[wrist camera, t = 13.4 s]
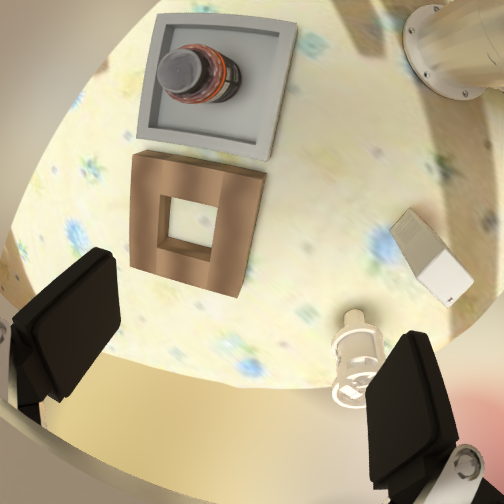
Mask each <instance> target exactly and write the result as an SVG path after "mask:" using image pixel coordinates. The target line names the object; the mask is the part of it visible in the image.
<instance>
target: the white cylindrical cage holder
mask: <svg viewBox="0 0 504 504" xmlns="http://www.w3.org/2000/svg"><path fill="white" fill-rule="evenodd" d="M344 324H345V327H344V328H342V329H341V330H339V331H338V332H337V333H336V334H335V336H334V337H333V340H332V344H331V346H332V355H333V357H334V359H335V360H336V363H337V377H336V378H335V380H334V382H333V384H332V397H333V399H334V400H335V402H336V403H338V404H339V405H341V406H344V407H348V408H365V407H366V398H365V399H356V398H358V397H359V396H361V395H363V391H362V390H360V389H358V388H362V387H367V386H368V384H369V383H370V382H371V380H372V379H373V378H374V376H375V375H376V373H377V372H378V371H379V369H380V368H381V366H382V365H383V363H384V362H385V360H386V358H385V353H384V340H383V336H382V333H381V331H380V330H379V329H378V328H377V327H375V326H373V325H371V324H367V323H365V319H364V314H363V312H362V311H360V310H358V309H353V310H350V311H348V312H347V313H346V314H345V315H344ZM336 345H337V350H336ZM363 382H365V384H362V383H363ZM352 383H354V384H355V386H353V385H352ZM346 394H347V395H349V396H350V397H351V398H354V399H349V398H346Z"/></svg>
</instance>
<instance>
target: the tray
mask: <svg viewBox="0 0 504 504" xmlns="http://www.w3.org/2000/svg"><path fill="white" fill-rule="evenodd" d="M297 31H298V28H297V23H294V22H288V21H282V20H276V19H269V18H261V17H253V16H243V15H231V14H215V13H164V14H157V17H156V21H155V26H154V30H153V34H152V39H151V44H150V49H149V54H148V59H147V64H146V70H145V75H144V82H143V88H142V95H141V102H140V109H139V117H138V125H137V135H136V138H137V139H145V140H152V141H159V142H166V143H173V144H179V145H185V146H191V147H197V148H202V149H208V150H213V151H218V152H224V153H229V154H234V155H238V156H243V157H248V158H252V159H257V160H261V161H266V162H267V161H268V159H269V158H270V155H271V151H272V146H273V141H274V137H275V132H276V128H277V123H278V118H279V114H280V109H281V105H282V100H283V95H284V91H285V86H286V82H287V77H288V72H289V68H290V63H291V59H292V54H293V50H294V45H295V40H296V36H297ZM188 44H202V45H206V46H208V47H210V48H212V49H214V50H216V51H217V52H219V53H221V54H223V55H225V56H226V57H228V58H230V59H231V60H233V61H234V62H235V63H236V64H237V66H238V67H239V69H240V72H241V84H240V88H239V90H238V91H237V93H236V94H235V95H234V96H233V97H232V98H230V99H229V100H227V101H225V102H222V103H215V104H186V103H181V102H178V101H176V100H174V99H172V98H171V97H170V96H169V95H168V94H167V93H166V91H165V89H164V88H163V87H162V86H161V85H160V83H159V81H158V78H157V69H158V65H159V63H160V61H161V60H162V58H163V57H164V56H165V55H166V54H168V53H169V52H171V51H173V50H175V49H178V48H180V47H181V46H184V45H188Z"/></svg>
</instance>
